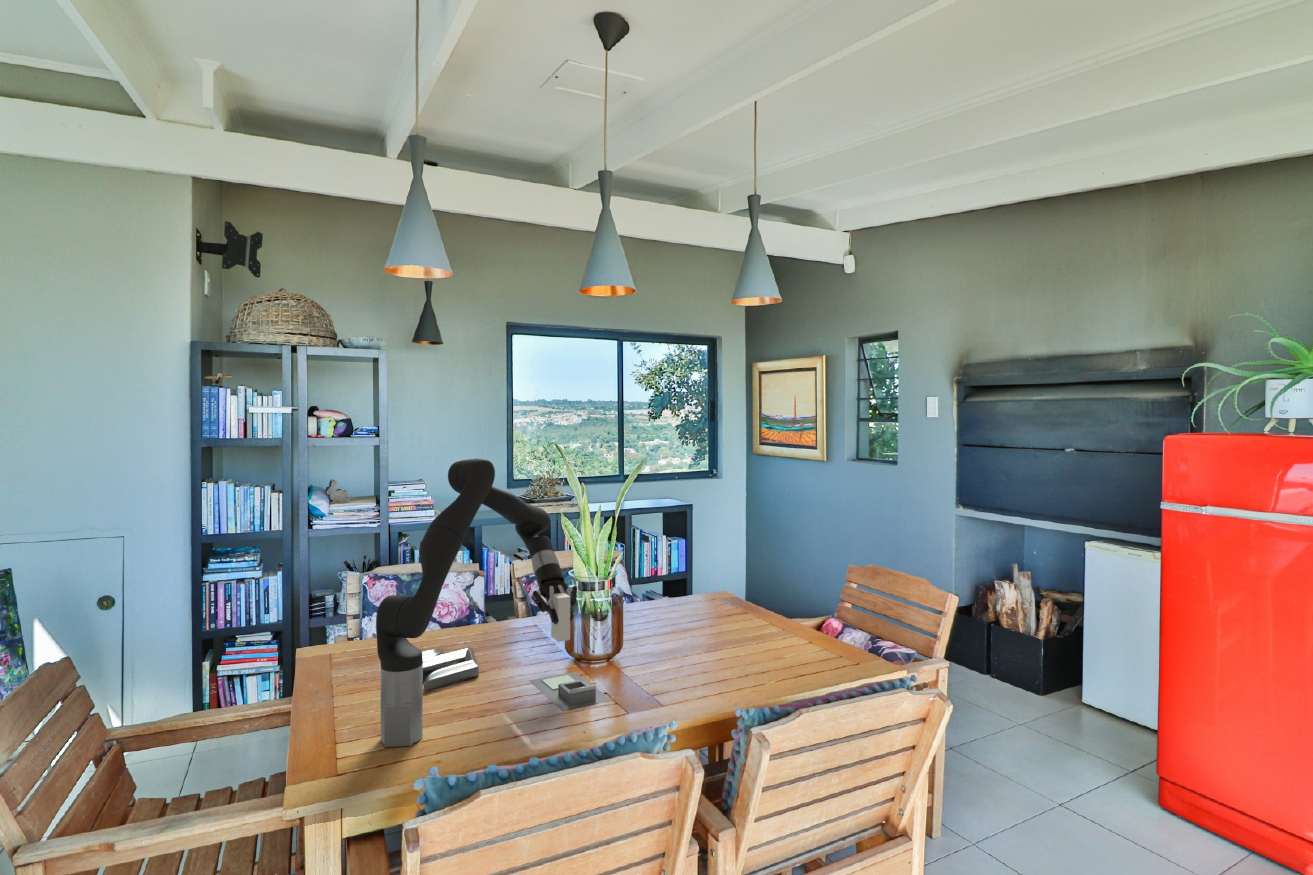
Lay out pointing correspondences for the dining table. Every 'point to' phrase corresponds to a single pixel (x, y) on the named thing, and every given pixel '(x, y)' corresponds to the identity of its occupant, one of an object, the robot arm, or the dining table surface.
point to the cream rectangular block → (561, 617)
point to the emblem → (448, 667)
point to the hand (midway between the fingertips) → (563, 621)
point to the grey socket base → (569, 691)
